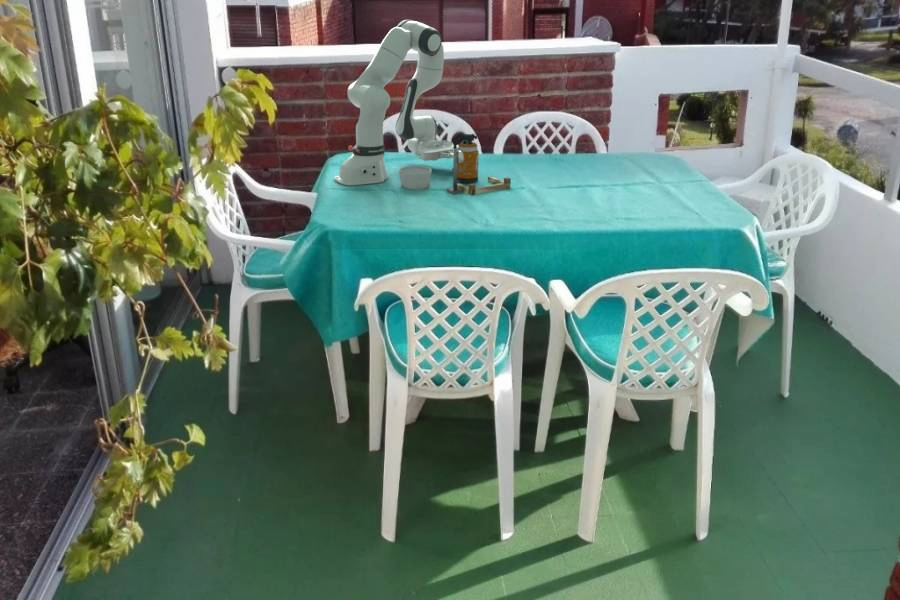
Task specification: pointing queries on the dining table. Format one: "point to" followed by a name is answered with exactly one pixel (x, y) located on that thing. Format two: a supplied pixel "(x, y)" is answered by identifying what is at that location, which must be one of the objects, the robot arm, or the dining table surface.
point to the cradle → (498, 186)
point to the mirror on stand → (457, 158)
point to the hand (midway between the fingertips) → (451, 156)
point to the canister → (467, 158)
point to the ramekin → (415, 177)
